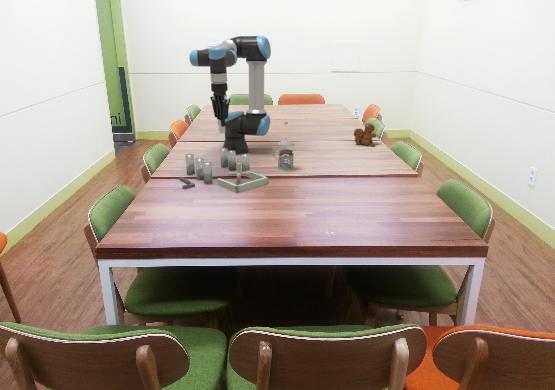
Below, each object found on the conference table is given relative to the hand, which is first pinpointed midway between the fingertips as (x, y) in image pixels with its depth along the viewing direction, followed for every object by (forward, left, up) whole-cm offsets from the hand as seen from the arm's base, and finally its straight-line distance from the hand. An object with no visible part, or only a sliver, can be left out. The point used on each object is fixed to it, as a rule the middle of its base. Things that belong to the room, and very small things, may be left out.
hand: (222, 132), depth 216 cm
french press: (-30, +12, -22) cm, 39 cm away
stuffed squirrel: (-101, +9, -22) cm, 103 cm away
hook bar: (+21, -4, -22) cm, 31 cm away
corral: (0, +15, -22) cm, 27 cm away
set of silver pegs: (0, -6, -22) cm, 23 cm away
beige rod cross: (+2, +14, -22) cm, 26 cm away
